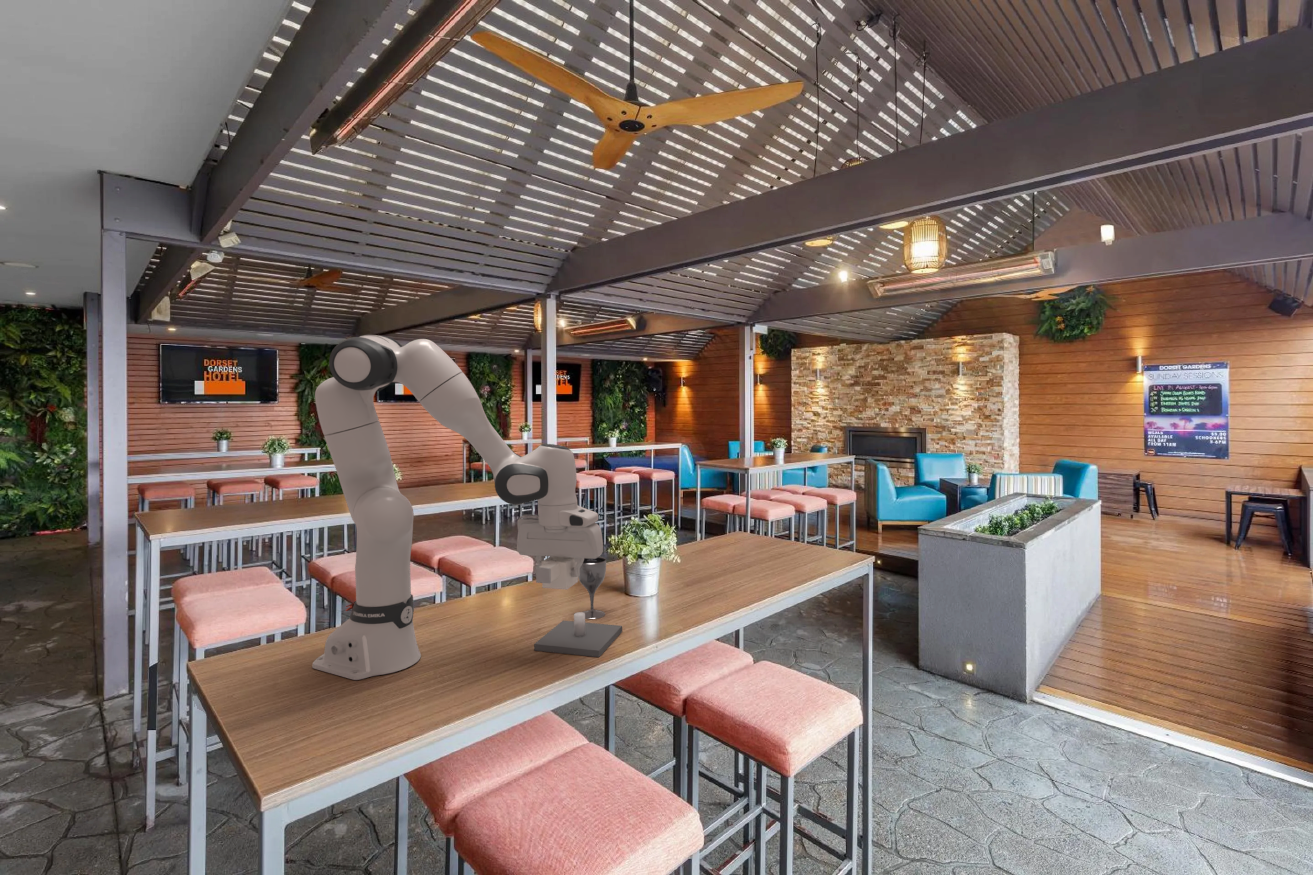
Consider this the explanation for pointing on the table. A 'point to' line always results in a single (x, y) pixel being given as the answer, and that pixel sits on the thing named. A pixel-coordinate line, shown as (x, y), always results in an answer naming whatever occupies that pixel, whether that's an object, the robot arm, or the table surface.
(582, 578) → the wine glass
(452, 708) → the table surface
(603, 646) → the base
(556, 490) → the robot arm
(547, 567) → the elbow
